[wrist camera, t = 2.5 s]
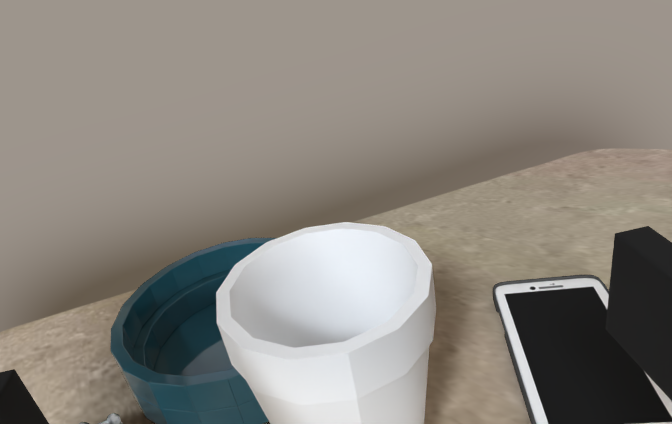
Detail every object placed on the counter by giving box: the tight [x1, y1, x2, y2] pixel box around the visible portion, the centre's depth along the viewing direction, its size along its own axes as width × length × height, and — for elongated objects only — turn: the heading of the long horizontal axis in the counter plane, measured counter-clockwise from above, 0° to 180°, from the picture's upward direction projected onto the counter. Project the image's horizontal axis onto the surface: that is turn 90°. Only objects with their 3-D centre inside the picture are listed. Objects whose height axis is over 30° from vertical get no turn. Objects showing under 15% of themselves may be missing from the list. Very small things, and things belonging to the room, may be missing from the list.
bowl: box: [111, 238, 277, 424], centre depth 37 cm, size 16×16×5 cm
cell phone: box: [493, 275, 672, 424], centre depth 32 cm, size 8×15×1 cm, turn 176°
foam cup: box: [216, 222, 436, 424], centre depth 25 cm, size 10×9×13 cm
